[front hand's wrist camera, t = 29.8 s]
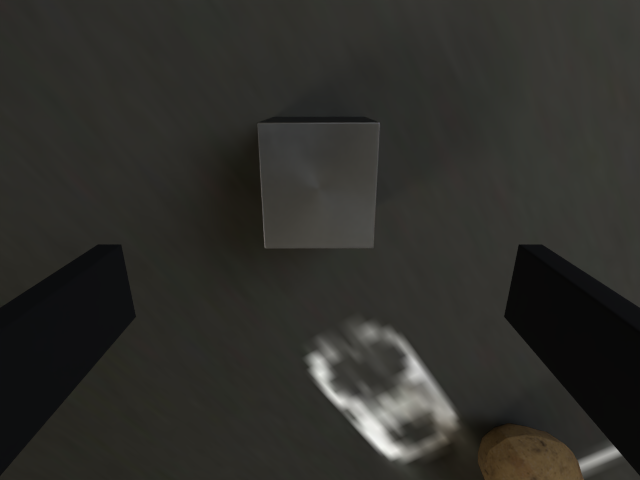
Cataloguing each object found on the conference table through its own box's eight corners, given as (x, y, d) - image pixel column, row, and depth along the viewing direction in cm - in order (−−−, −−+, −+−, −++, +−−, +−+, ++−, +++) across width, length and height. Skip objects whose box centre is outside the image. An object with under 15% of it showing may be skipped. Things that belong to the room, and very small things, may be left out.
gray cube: (272, 117, 31) (256, 122, 23) (365, 116, 31) (380, 122, 23) (276, 215, 34) (264, 249, 26) (361, 215, 34) (373, 248, 26)
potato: (520, 381, 40) (567, 445, 33) (575, 456, 44) (628, 529, 36) (443, 423, 42) (469, 493, 35) (502, 491, 46) (537, 567, 39)
